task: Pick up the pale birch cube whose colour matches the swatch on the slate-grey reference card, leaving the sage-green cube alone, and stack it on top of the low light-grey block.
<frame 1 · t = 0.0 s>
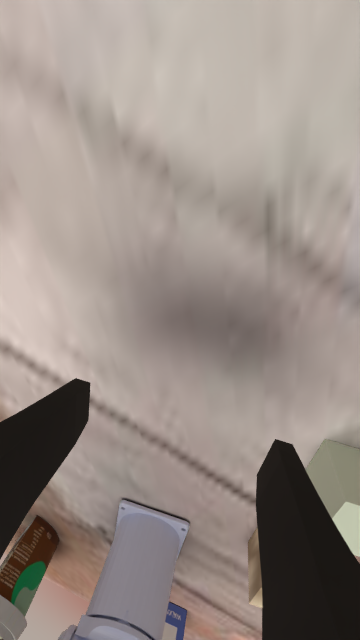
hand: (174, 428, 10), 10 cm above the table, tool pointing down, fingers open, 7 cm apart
walkman: (159, 599, 40), on the table
birch cube: (279, 537, 28), on the table
food container: (46, 537, 39), on the table
sage cube: (342, 467, 23), on the table
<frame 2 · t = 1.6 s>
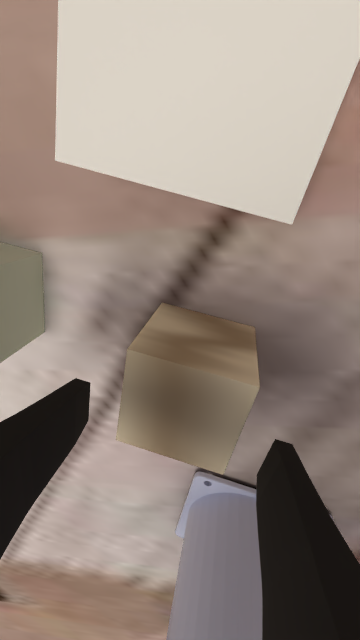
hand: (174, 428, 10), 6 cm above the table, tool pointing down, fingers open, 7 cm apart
birch cube: (197, 353, 16), on the table
base block: (216, 80, 11), on the table
sage cube: (6, 284, 16), on the table
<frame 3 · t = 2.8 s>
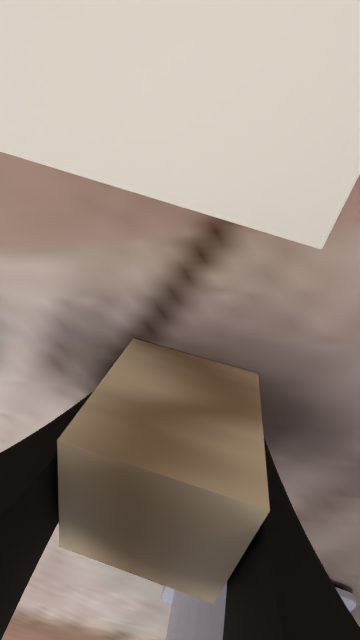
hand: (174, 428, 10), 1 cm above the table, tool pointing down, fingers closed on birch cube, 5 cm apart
birch cube: (181, 403, 12), on the table, touching gripper
base block: (200, 12, 7), on the table
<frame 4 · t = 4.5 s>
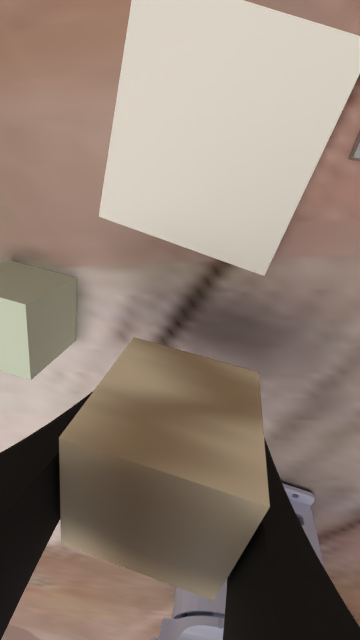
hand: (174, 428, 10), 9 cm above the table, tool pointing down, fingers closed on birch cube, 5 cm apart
birch cube: (182, 401, 12), point 7 cm above the table, touching gripper
base block: (218, 157, 14), on the table
sage cube: (45, 301, 20), on the table
when the fingers open (7 cm above the table, at t = 6.3 s): birch cube drops 2 cm, point 4 cm above the table.
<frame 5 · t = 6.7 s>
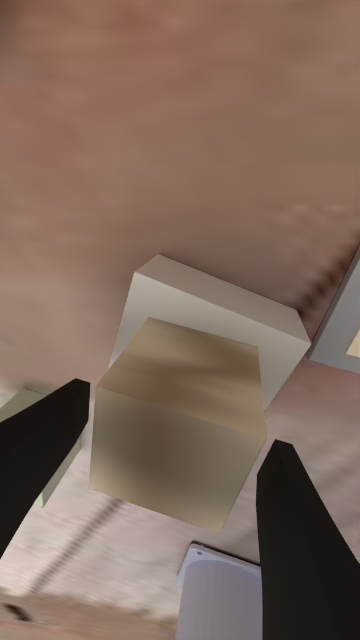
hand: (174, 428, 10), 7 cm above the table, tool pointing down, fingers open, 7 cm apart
birch cube: (190, 375, 13), point 4 cm above the table
base block: (200, 337, 17), on the table
sage cube: (53, 419, 23), on the table
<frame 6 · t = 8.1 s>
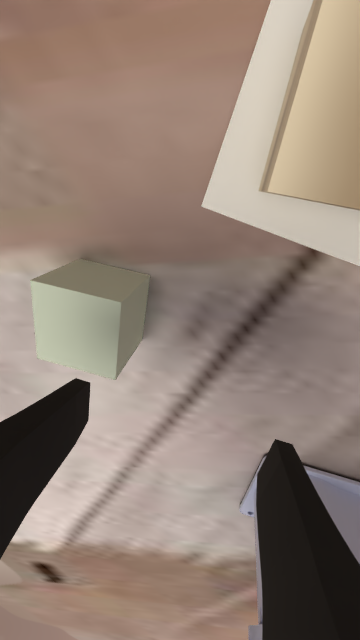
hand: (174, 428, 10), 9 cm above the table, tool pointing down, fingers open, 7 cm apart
birch cube: (346, 130, 10), point 4 cm above the table
base block: (314, 148, 14), on the table
sage cube: (113, 300, 19), on the table
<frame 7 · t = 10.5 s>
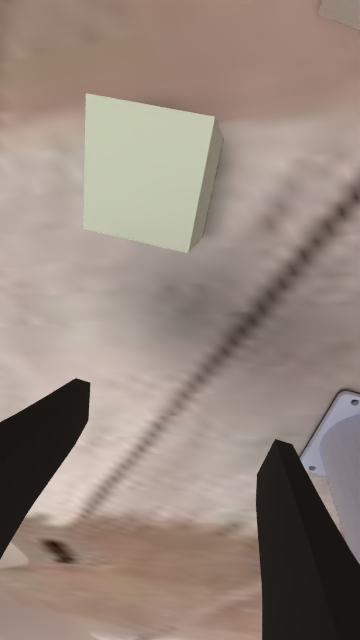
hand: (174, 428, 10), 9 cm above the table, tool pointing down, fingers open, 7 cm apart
sage cube: (169, 182, 16), on the table
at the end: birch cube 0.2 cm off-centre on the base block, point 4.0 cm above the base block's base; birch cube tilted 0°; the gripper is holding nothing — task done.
